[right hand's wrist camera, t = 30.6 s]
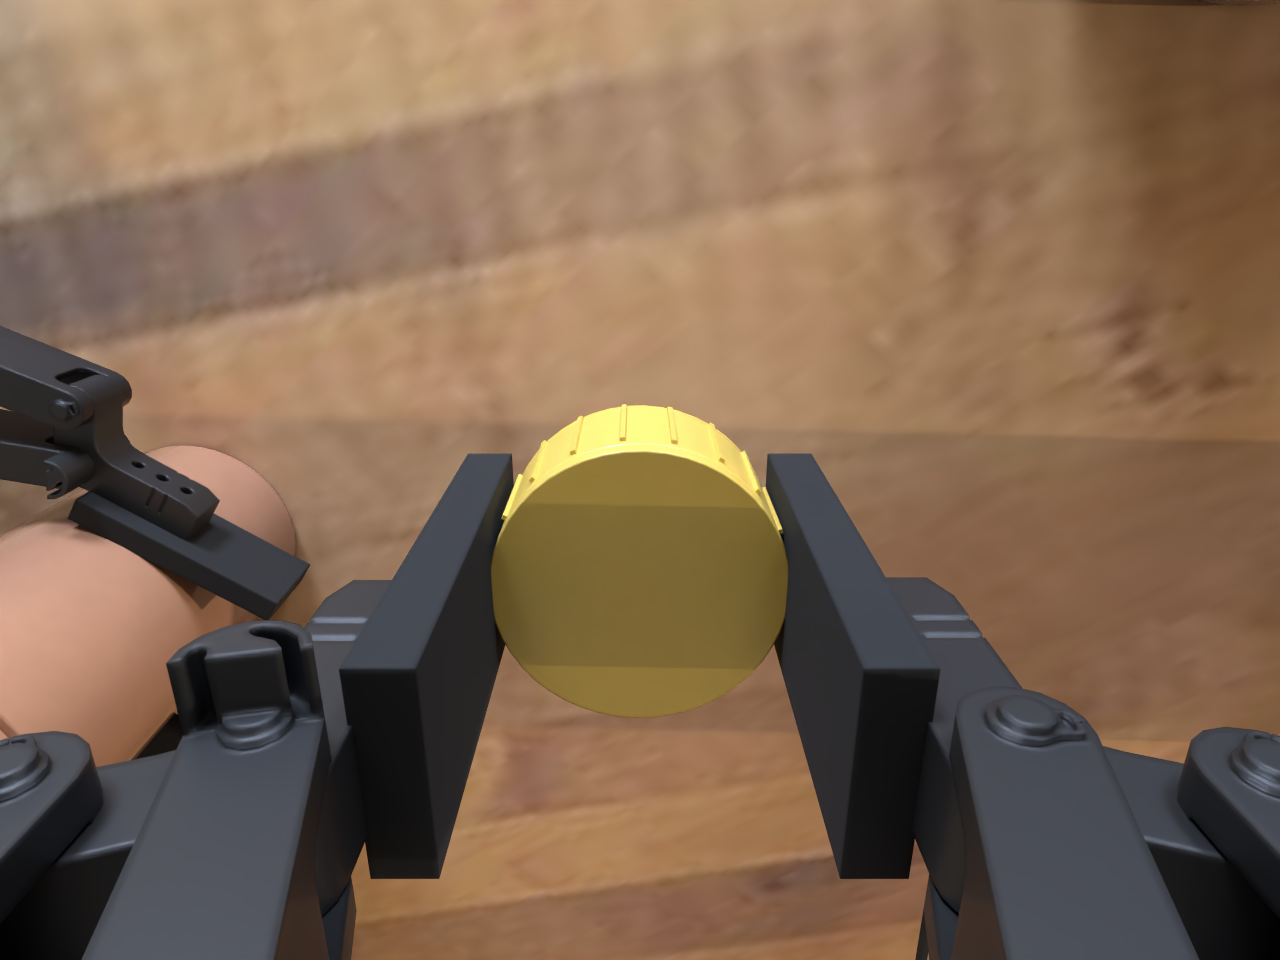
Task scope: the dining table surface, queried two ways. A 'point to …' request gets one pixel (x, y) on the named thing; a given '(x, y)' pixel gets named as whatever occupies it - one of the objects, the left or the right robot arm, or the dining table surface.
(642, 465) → the cap
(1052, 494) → the dining table surface
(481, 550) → the right robot arm
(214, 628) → the bottle
